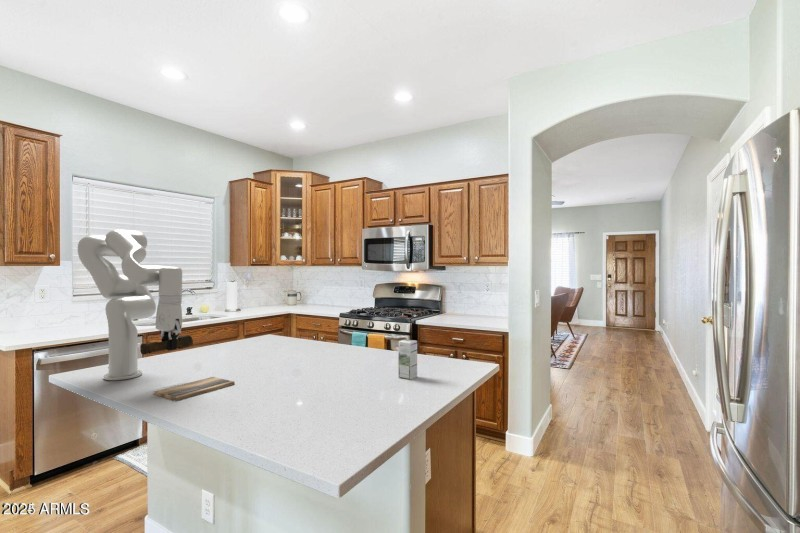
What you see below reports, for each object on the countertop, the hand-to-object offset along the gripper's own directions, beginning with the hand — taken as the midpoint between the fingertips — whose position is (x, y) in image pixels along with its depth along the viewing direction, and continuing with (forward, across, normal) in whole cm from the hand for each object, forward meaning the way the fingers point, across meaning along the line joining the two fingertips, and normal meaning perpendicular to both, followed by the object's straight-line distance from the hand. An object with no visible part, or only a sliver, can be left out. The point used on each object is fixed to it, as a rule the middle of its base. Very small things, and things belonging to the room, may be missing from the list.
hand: (169, 348), depth 152 cm
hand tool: (+1, -1, 0) cm, 1 cm away
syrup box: (+11, +72, +54) cm, 91 cm away
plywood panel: (+13, +16, +1) cm, 20 cm away
